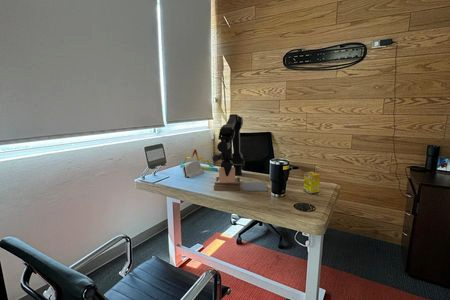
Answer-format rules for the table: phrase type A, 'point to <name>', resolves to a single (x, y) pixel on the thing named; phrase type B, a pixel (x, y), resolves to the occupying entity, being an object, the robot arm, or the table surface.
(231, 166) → the robot arm
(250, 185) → the charcoal mat
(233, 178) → the terracotta board
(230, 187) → the walnut rack
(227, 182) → the offcut stack
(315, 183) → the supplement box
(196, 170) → the beige rounded block
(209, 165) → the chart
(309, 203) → the table surface
